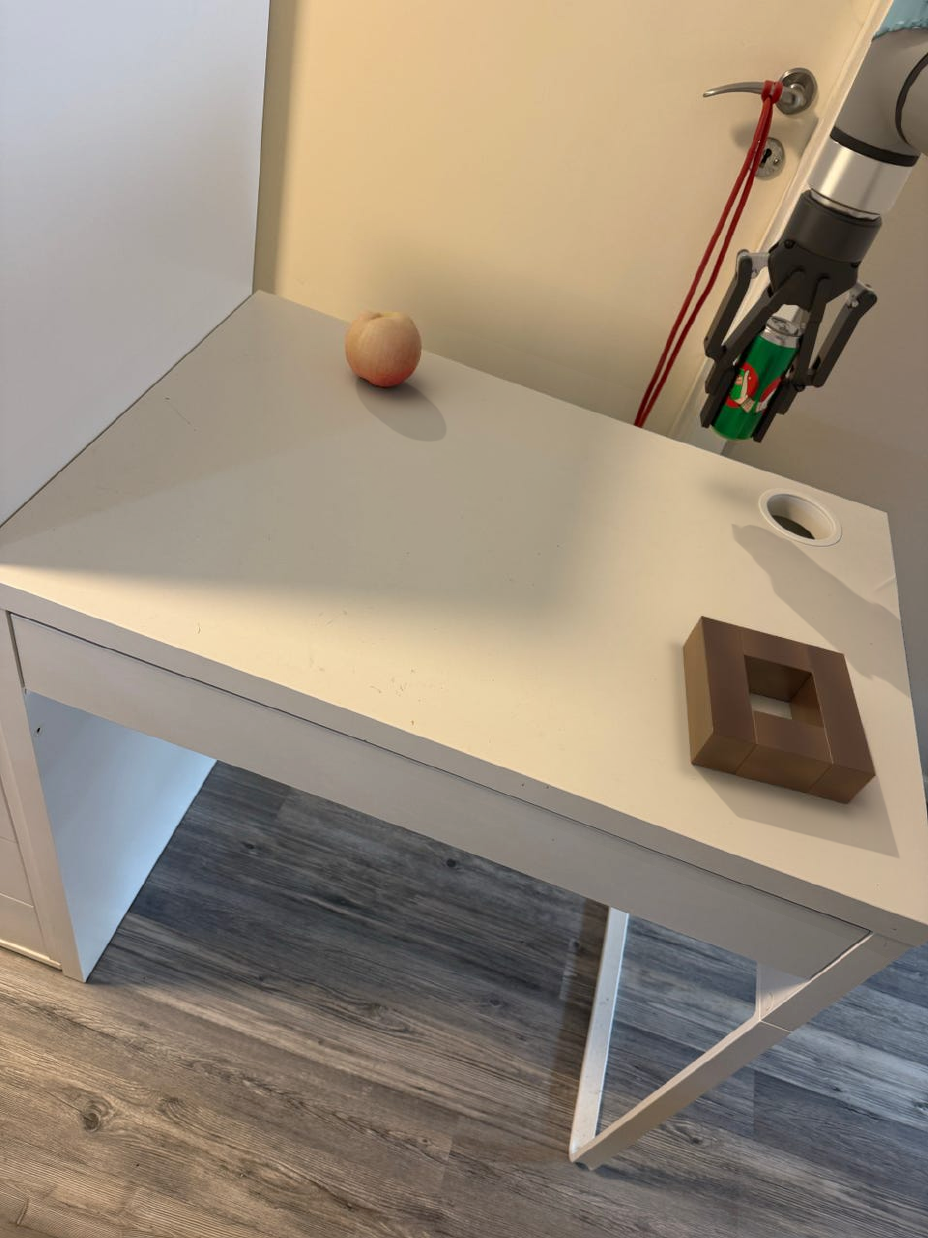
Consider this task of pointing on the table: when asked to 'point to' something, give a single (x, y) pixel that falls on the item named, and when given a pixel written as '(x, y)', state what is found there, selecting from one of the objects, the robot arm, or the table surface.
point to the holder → (767, 744)
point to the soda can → (757, 379)
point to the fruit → (383, 347)
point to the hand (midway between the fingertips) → (729, 428)
